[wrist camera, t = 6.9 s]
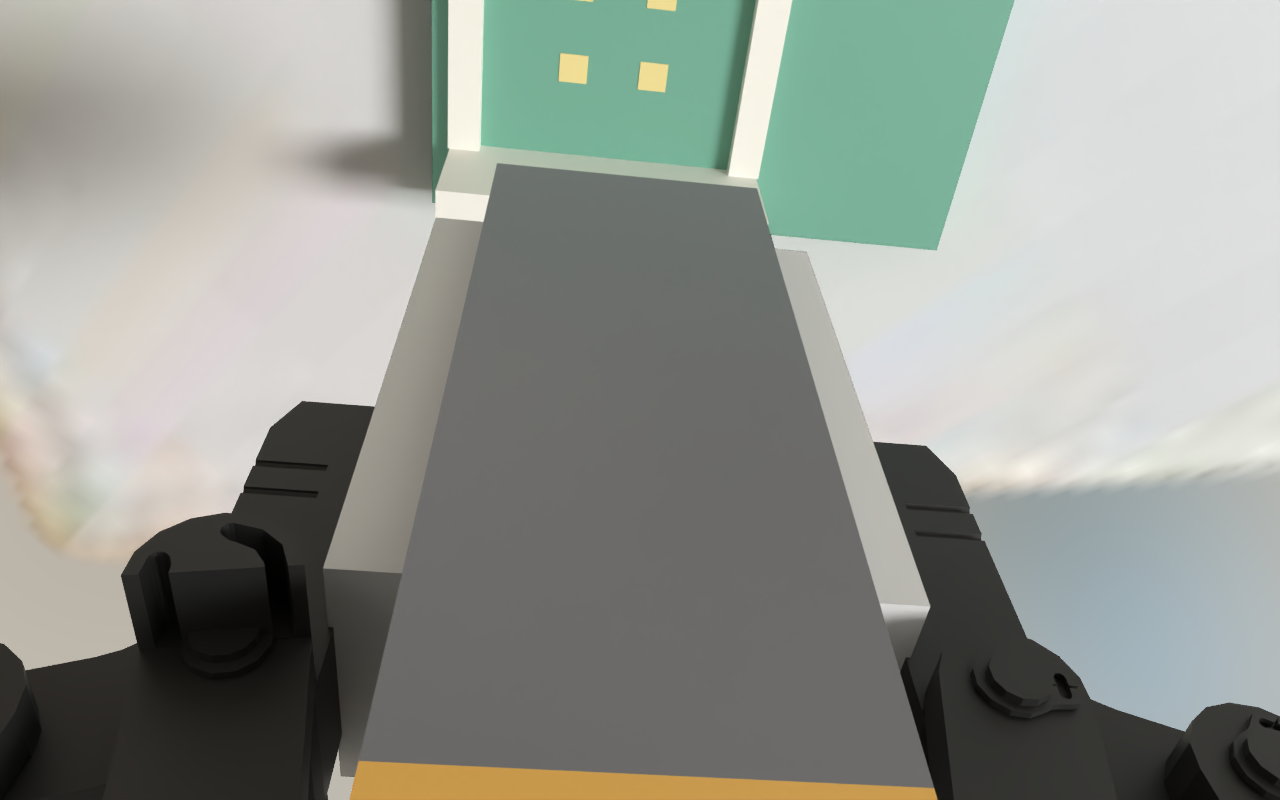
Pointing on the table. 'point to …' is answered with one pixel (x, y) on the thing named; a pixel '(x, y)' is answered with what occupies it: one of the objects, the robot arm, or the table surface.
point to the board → (722, 102)
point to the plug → (634, 528)
